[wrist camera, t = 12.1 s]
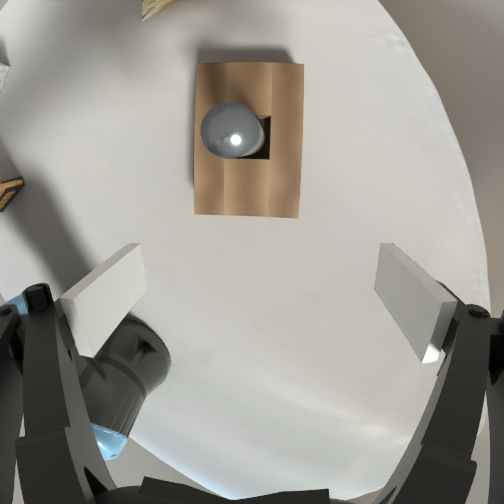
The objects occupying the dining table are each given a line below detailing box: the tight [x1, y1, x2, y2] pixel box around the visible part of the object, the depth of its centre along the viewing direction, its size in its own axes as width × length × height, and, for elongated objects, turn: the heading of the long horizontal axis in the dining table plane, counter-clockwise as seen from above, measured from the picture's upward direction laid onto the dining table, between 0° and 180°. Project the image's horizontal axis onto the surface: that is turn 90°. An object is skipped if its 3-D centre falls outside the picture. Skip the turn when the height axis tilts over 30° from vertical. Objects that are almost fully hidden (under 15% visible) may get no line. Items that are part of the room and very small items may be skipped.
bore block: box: [194, 62, 304, 218], centre depth 32 cm, size 12×18×5 cm, turn 178°
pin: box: [200, 102, 266, 158], centre depth 26 cm, size 4×4×16 cm
